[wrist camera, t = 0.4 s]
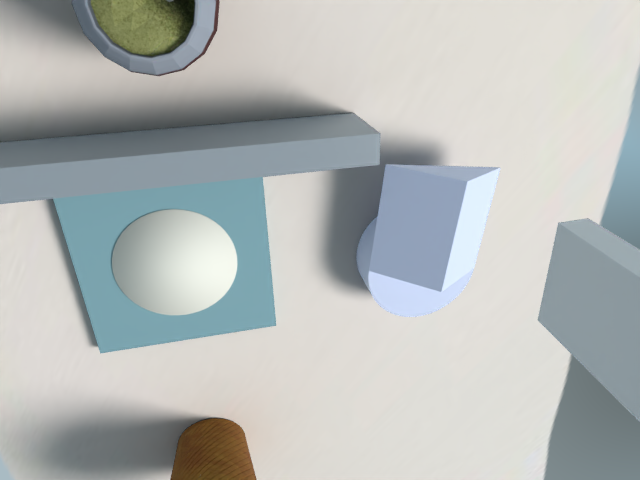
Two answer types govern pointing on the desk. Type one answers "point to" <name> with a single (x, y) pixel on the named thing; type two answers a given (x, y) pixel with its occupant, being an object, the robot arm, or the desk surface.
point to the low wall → (183, 156)
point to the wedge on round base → (425, 235)
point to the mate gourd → (149, 31)
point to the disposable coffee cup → (213, 452)
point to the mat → (171, 261)
